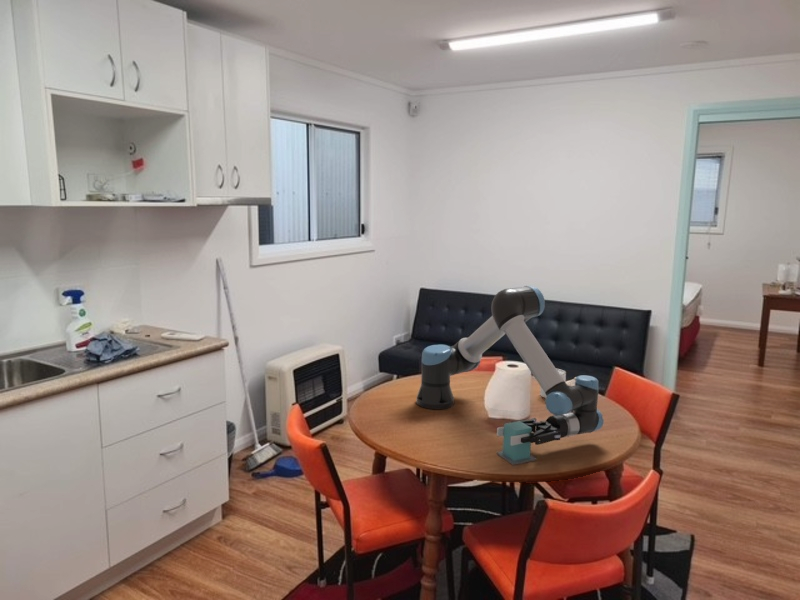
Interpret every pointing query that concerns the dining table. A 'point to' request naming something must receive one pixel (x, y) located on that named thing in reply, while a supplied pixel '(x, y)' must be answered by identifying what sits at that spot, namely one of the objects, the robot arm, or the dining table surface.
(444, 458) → the dining table surface
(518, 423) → the teal rectangular prism
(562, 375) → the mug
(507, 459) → the post
